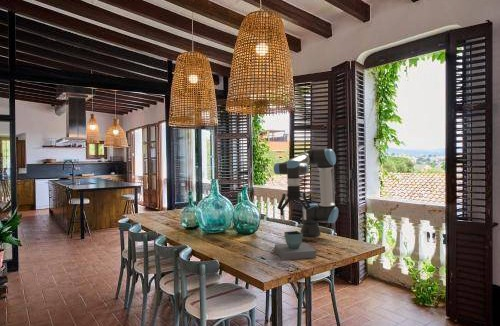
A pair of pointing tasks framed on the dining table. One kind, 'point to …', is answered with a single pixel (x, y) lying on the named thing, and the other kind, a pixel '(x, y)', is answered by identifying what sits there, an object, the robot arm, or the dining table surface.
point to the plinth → (295, 251)
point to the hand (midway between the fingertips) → (294, 220)
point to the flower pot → (293, 239)
